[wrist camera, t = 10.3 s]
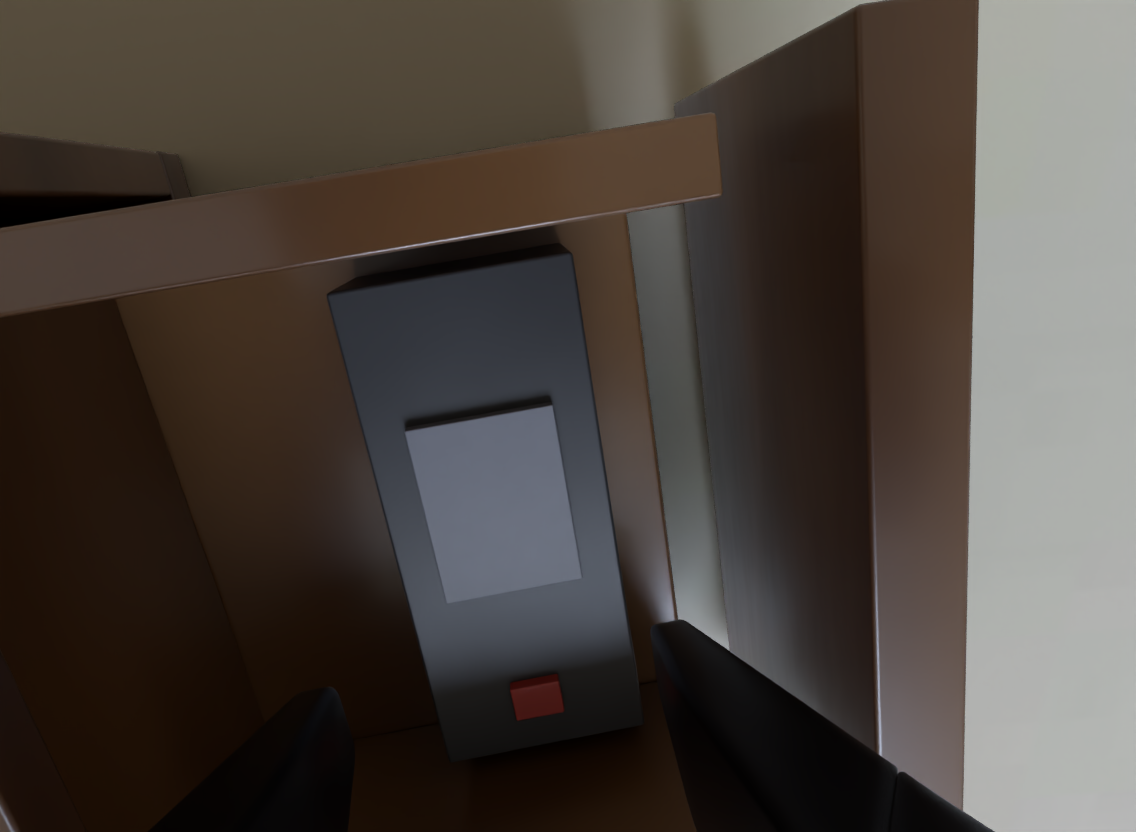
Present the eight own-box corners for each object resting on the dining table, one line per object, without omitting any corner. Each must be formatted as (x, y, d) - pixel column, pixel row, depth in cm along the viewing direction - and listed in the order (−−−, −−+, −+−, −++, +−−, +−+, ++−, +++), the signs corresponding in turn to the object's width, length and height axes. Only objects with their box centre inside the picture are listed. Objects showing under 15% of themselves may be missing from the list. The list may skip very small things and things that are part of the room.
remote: (561, 241, 13) (574, 252, 11) (626, 655, 16) (647, 734, 13) (353, 277, 13) (321, 295, 10) (456, 687, 16) (448, 773, 13)
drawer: (795, 82, 14) (1107, -37, 7) (826, 667, 18) (1038, 975, 11) (69, 200, 13) (-429, 206, 6) (275, 775, 17) (119, 1171, 10)
